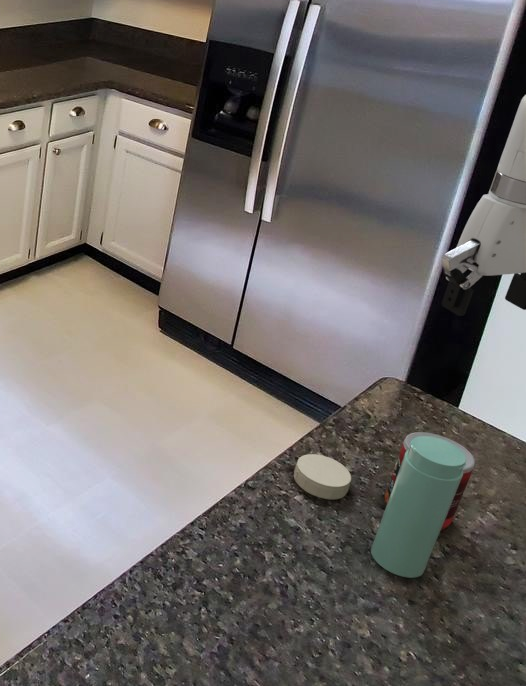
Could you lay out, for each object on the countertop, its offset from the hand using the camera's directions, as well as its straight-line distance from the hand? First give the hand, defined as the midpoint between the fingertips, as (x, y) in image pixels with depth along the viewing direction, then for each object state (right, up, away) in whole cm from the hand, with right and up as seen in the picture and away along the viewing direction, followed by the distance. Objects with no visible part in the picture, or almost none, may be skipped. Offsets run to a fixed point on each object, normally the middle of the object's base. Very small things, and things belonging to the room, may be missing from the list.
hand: (484, 307), depth 107 cm
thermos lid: (-16, -25, +9) cm, 31 cm away
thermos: (-14, -33, -3) cm, 36 cm away
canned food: (-6, -29, +5) cm, 30 cm away
